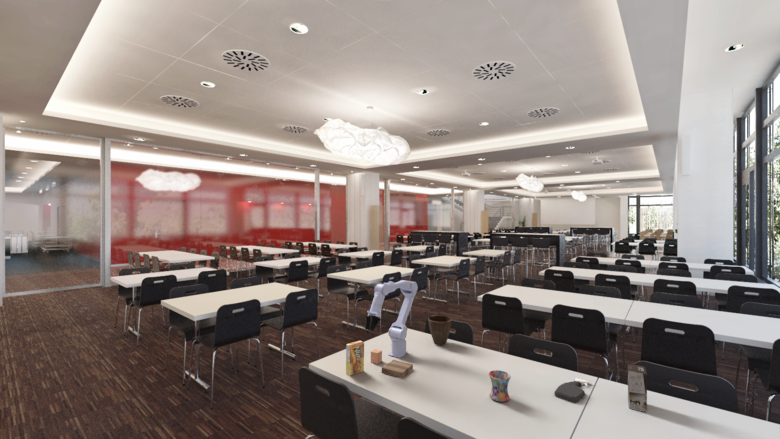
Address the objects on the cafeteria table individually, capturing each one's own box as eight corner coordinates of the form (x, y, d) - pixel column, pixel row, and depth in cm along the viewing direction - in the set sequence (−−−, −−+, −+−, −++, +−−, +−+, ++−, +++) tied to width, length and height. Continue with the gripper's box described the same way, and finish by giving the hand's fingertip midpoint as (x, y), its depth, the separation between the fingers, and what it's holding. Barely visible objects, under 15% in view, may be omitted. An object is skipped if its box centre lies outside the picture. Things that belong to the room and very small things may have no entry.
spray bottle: (552, 396, 158) (571, 379, 175) (578, 405, 150) (595, 387, 167) (552, 390, 158) (571, 374, 175) (578, 398, 150) (595, 381, 168)
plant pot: (427, 346, 218) (427, 321, 218) (428, 338, 233) (428, 314, 232) (451, 348, 215) (451, 322, 215) (451, 340, 230) (451, 315, 230)
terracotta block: (375, 359, 199) (375, 349, 199) (381, 361, 196) (381, 350, 196) (370, 362, 195) (370, 351, 195) (377, 364, 192) (377, 353, 192)
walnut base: (393, 365, 192) (393, 359, 192) (412, 370, 186) (412, 364, 186) (381, 373, 182) (381, 367, 182) (401, 379, 175) (401, 373, 175)
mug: (508, 406, 149) (508, 381, 149) (486, 400, 154) (486, 376, 154) (513, 393, 160) (513, 370, 160) (492, 388, 164) (493, 366, 164)
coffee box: (647, 413, 144) (647, 374, 144) (628, 408, 147) (628, 370, 147) (645, 403, 152) (645, 366, 152) (627, 399, 155) (627, 363, 155)
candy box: (359, 368, 186) (359, 340, 186) (364, 371, 183) (364, 342, 183) (345, 373, 181) (345, 343, 181) (350, 376, 178) (350, 346, 177)
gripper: (366, 303, 197) (358, 327, 192) (374, 302, 184) (366, 328, 179) (377, 307, 199) (369, 331, 194) (386, 306, 186) (378, 332, 181)
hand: (369, 330), depth 186 cm, fingers open, 7 cm apart
